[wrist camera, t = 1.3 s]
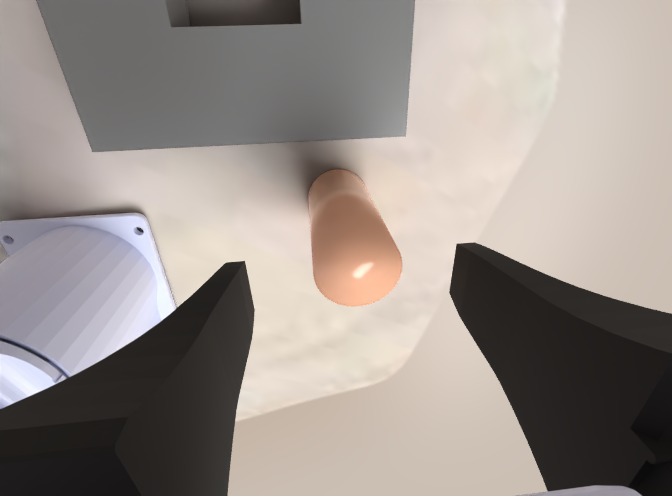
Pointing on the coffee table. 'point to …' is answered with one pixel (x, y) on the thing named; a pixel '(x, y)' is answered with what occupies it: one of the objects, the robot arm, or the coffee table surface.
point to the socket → (233, 73)
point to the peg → (350, 241)
